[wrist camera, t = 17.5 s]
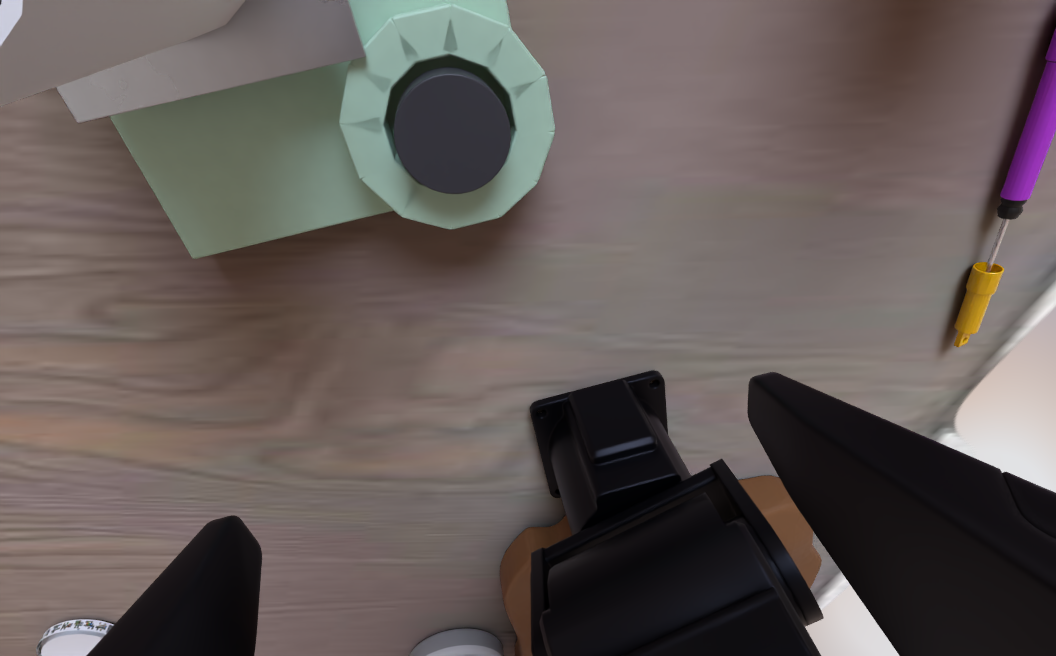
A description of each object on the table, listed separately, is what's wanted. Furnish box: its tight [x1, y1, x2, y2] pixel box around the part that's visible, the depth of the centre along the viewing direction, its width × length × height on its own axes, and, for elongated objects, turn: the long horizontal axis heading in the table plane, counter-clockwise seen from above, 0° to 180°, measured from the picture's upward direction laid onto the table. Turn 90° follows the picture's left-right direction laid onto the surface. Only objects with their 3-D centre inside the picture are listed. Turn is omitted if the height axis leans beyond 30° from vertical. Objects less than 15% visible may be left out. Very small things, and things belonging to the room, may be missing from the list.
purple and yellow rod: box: [954, 28, 1056, 347], centre depth 24 cm, size 3×1×16 cm
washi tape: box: [36, 619, 114, 656], centre depth 29 cm, size 4×4×1 cm
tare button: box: [394, 67, 511, 194], centre depth 16 cm, size 3×3×2 cm
